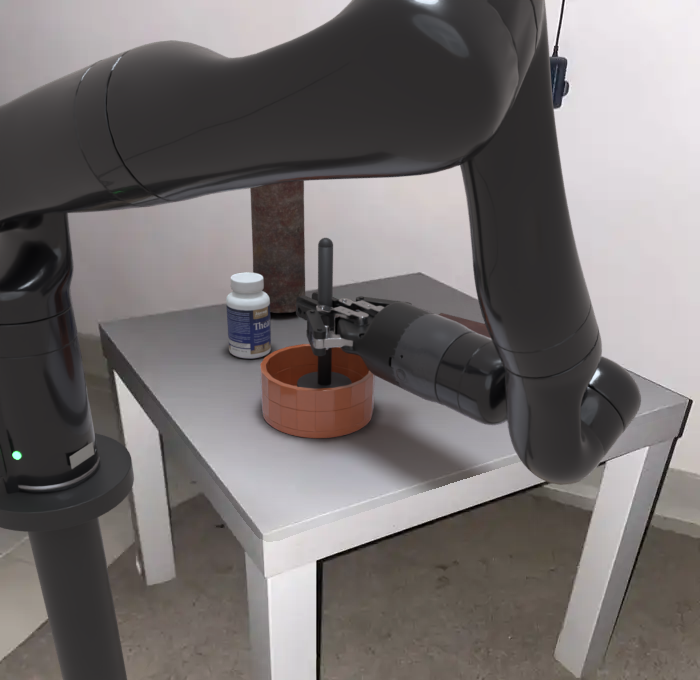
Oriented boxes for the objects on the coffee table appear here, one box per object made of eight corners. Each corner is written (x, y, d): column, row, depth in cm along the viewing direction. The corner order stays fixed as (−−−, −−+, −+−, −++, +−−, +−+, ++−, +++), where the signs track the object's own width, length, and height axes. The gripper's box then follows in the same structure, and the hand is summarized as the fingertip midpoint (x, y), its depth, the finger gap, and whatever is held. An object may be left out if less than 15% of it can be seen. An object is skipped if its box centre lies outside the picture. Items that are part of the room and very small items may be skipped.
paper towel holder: (310, 413, 82) (310, 249, 73) (288, 391, 87) (285, 233, 77) (360, 403, 84) (366, 242, 75) (336, 381, 89) (339, 227, 80)
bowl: (288, 448, 78) (287, 399, 76) (246, 398, 88) (244, 353, 85) (392, 424, 83) (395, 378, 80) (342, 380, 92) (343, 337, 90)
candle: (292, 324, 107) (290, 173, 97) (245, 316, 110) (238, 167, 99) (313, 306, 114) (313, 162, 103) (268, 299, 116) (264, 157, 105)
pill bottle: (260, 362, 96) (258, 286, 91) (221, 356, 97) (216, 280, 92) (278, 346, 100) (276, 273, 95) (240, 340, 102) (236, 268, 97)
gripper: (477, 299, 73) (355, 256, 84) (372, 332, 65) (252, 280, 76) (468, 371, 77) (353, 322, 88) (368, 411, 69) (255, 351, 80)
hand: (306, 303), depth 82 cm, fingers closed on paper towel holder, 1 cm apart
